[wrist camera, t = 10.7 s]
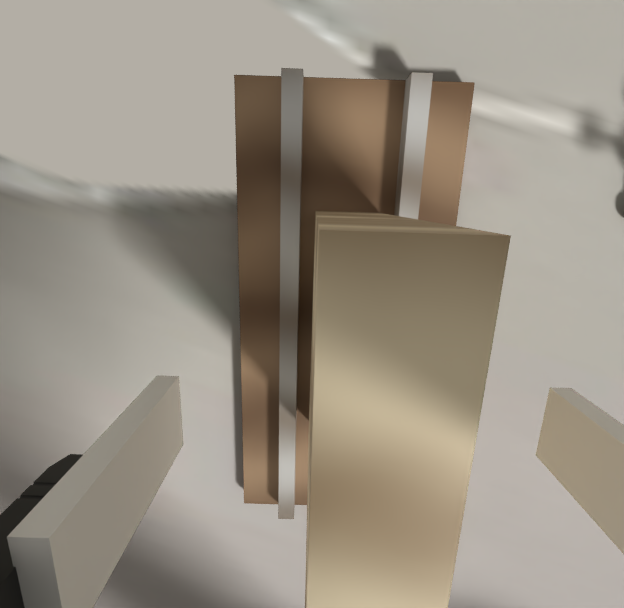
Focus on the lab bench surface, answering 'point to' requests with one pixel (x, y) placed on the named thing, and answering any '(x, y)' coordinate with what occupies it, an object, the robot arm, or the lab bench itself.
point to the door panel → (394, 403)
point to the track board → (301, 227)
